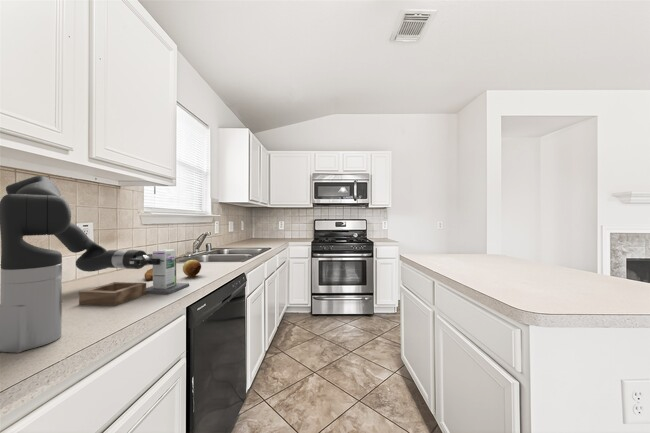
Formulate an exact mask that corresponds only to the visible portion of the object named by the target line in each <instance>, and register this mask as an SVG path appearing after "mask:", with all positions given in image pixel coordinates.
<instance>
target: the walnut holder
mask: <svg viewBox="0 0 650 433" xmlns="http://www.w3.org/2000/svg"><path fill="white" fill-rule="evenodd" d="M146 288H147V283H146V282H126V281H125V282H120V281H118V282H117V281H112V282H110V283H107V284H104V285H100V286H99V285H98V286H95V287H92V288H89V289H84V290H82V291H80V290H79V292H78V296H79V297H78V304H79V305H90V306H91V305H94V306H97V305H98V306H117V305H118V306H119V305H121V304H123V303H126V302H128V301H131V300H134V299H137V298H139V297H142V296H145V295H147V293H146Z"/></svg>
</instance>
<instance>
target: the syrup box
mask: <svg viewBox="0 0 650 433" xmlns="http://www.w3.org/2000/svg"><path fill="white" fill-rule="evenodd" d="M152 254H153V259H160V260H161V263H160V265H152V268H153V280H152V286H153V288H155V289H167V288H169V287H172V286H176V283H177V250H176V249H173V248H167V249H166V248H165V249H160V250H159V249H158V250H153V251H152Z"/></svg>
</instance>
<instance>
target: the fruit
mask: <svg viewBox="0 0 650 433" xmlns="http://www.w3.org/2000/svg"><path fill="white" fill-rule="evenodd" d="M201 269H202V264H201V262H200V261H199V260H196V259H190V260H187V261H186V262H184V264H183V265H182V272H183V274H184V275H185V276H187V277H191V278H192V277H193V278H194V277H196V276H197V275H198V274H199V273H200V271H201Z"/></svg>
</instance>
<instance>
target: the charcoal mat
mask: <svg viewBox="0 0 650 433" xmlns="http://www.w3.org/2000/svg"><path fill="white" fill-rule="evenodd" d="M187 287H190V283H189V282H188V283H187V282H183V283H182V282H176V286H172V287H169V288H167V289H155V288H153V285H151V286H148V287H146V294H148V295H149V294H152V295H154V294H155V295H171V294H173V293H176V292H178V291H180V290H183V289H185V288H187Z"/></svg>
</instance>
